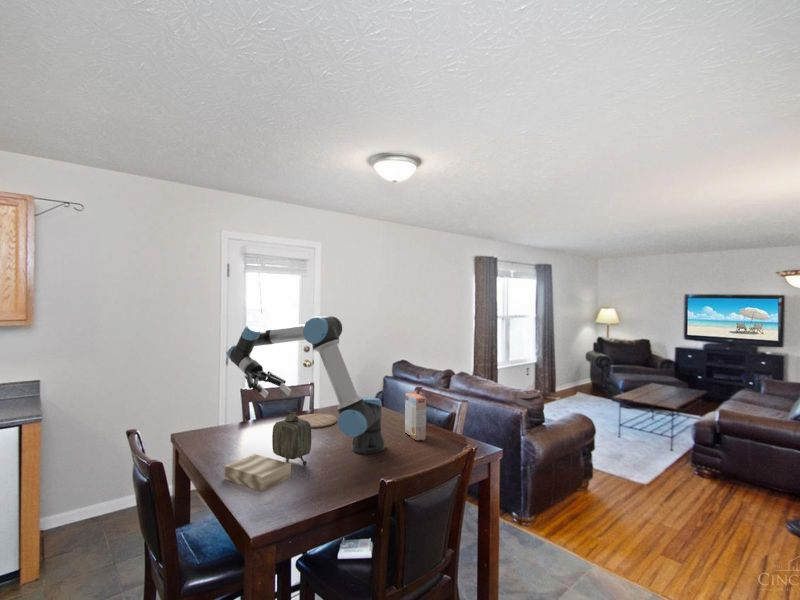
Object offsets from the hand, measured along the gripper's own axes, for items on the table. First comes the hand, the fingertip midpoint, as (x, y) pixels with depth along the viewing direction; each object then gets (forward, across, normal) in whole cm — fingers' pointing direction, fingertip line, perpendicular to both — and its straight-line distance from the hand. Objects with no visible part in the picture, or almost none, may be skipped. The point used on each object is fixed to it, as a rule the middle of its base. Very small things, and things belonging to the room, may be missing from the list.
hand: (278, 394), depth 176 cm
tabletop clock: (+24, +3, -18) cm, 30 cm away
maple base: (+24, +19, -19) cm, 36 cm away
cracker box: (+47, -54, +1) cm, 72 cm away
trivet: (-7, -49, -28) cm, 57 cm away
